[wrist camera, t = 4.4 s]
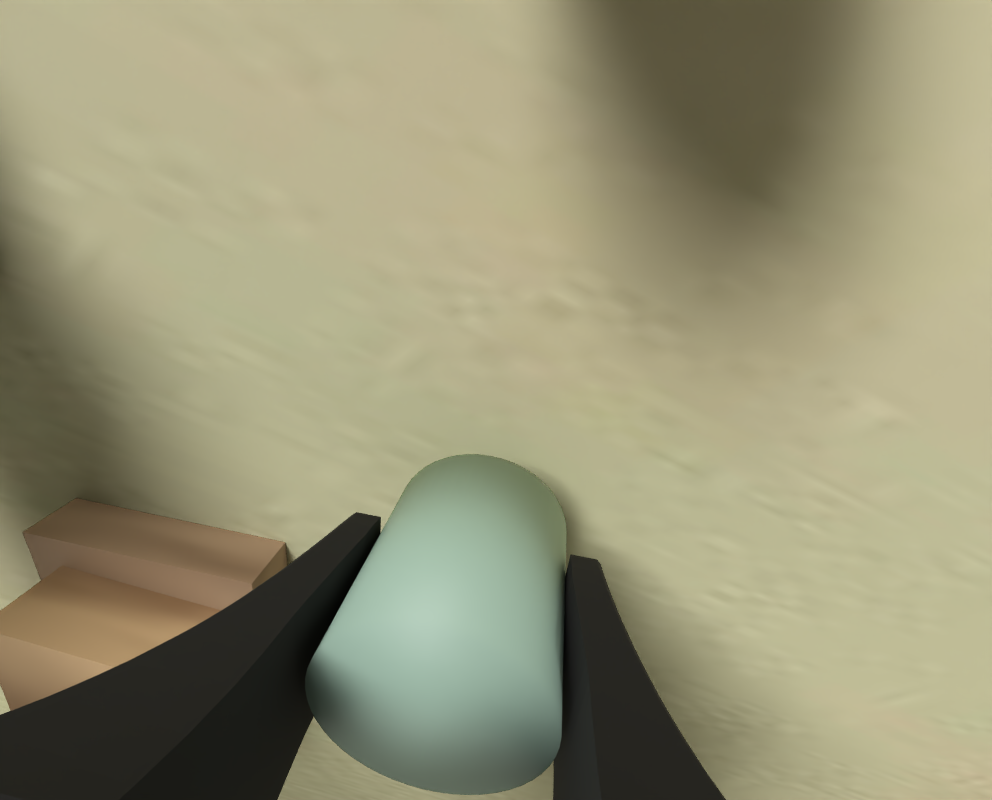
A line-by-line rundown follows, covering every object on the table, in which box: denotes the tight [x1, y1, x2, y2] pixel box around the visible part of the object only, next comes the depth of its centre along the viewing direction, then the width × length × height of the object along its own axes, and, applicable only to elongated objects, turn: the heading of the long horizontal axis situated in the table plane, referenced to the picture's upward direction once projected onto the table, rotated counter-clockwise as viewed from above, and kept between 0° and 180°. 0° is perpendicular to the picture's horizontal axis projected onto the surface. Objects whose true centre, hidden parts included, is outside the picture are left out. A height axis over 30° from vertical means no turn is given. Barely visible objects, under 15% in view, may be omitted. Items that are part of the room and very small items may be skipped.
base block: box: [23, 498, 287, 610], centre depth 18 cm, size 8×8×2 cm
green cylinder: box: [305, 454, 567, 795], centre depth 11 cm, size 4×4×5 cm
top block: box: [0, 566, 221, 711], centre depth 16 cm, size 6×6×2 cm
